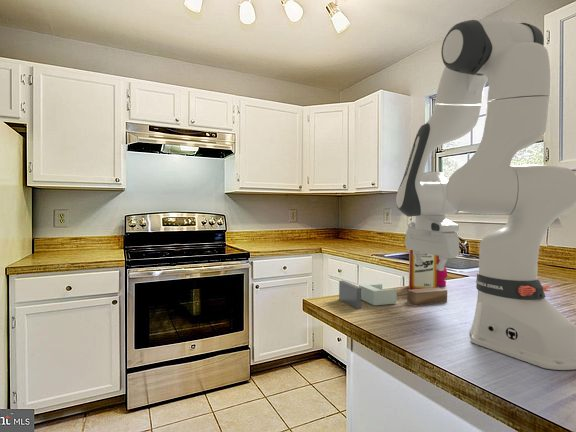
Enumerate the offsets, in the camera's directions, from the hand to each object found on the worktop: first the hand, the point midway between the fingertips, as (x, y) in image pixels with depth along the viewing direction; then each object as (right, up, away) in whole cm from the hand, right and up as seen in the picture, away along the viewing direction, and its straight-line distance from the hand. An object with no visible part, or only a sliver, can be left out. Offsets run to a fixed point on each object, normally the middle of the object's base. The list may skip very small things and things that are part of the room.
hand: (429, 267), depth 110 cm
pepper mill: (+13, -11, +24) cm, 29 cm away
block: (-17, -11, -1) cm, 20 cm away
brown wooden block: (-1, -11, -1) cm, 11 cm away
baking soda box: (+5, -11, +17) cm, 20 cm away
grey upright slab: (-26, -11, -4) cm, 28 cm away
